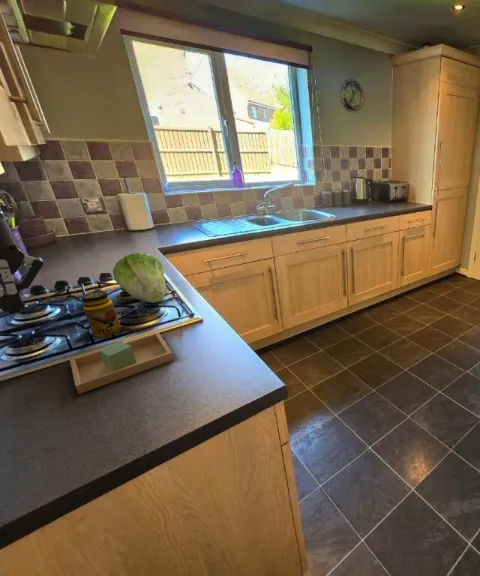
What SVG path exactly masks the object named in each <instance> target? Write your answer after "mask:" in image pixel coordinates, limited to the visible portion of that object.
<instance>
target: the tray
mask: <svg viewBox="0 0 480 576" xmlns="http://www.w3.org/2000/svg"><path fill="white" fill-rule="evenodd" d="M124 343H125V344H127V345H129V346H131V347H132V350H133V353H134V356H135V359H136V363H134V364H132V365H130V366H127V367H124V368H121V369H119V370H116V371H112V370H110V369H109V368H107V367H105V365H104V363H103V360H102V358H101V355H100V352H99V350H100V349H99V350H96V351H95V350H94V351H92V352H89V353H85V354H82V355H79V356H75V357H72V358H69V362H70V367H71V372H72V377H73V382H74V386H75V389H76V391H77V394H79V395H80V394H83V393H85V392H89V391H91V390H94V389H97V388H99V387H102V386H105V385H109V384H111V383H114V382H117V381H119V380H122V379H124V378H127V377H131V376H133V375H135V374H138V373H141V372H144V371H147V370H149V369H153V368H155V367H158V366H161V365H163V364H166V363H169V362H172V361H174V360H175V357H174V355H173V352H172V350H171V348H170V347H169V346H168V344H167V343H166V341H165V340H164V338H163V337H162V336H161V334H160V332H159V331H158V332H155V333H151V334H148V335H144V336H142V337H138V338H135V339H134V338H133V339H131V340H128V341H124Z"/></svg>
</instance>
